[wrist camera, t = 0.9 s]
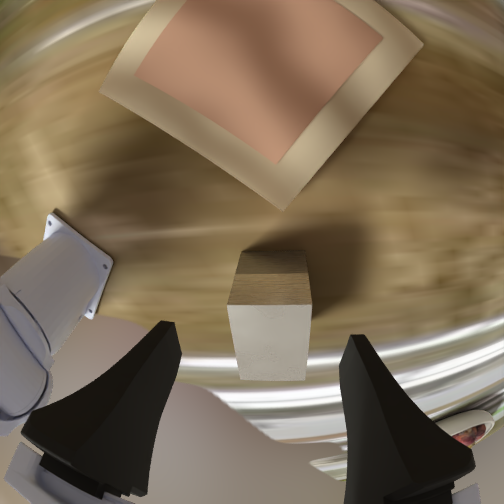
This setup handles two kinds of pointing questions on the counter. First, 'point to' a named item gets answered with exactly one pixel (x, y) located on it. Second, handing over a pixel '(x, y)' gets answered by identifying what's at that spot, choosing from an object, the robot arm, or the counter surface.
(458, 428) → the bowl
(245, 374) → the block
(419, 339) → the counter surface
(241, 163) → the stand
